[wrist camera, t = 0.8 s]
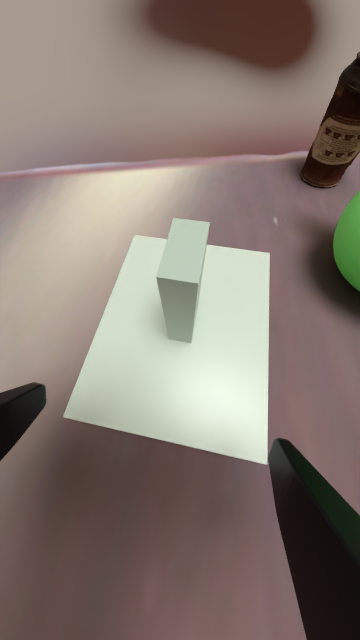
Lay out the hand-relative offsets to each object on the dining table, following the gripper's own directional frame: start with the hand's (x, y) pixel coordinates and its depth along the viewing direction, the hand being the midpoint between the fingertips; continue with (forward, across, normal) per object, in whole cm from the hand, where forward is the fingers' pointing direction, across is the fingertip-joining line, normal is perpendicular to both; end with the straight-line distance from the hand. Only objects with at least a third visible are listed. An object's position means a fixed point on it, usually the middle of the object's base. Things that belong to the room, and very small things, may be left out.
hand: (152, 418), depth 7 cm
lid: (+12, 0, 0) cm, 12 cm away
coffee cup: (+37, -17, -22) cm, 47 cm away
